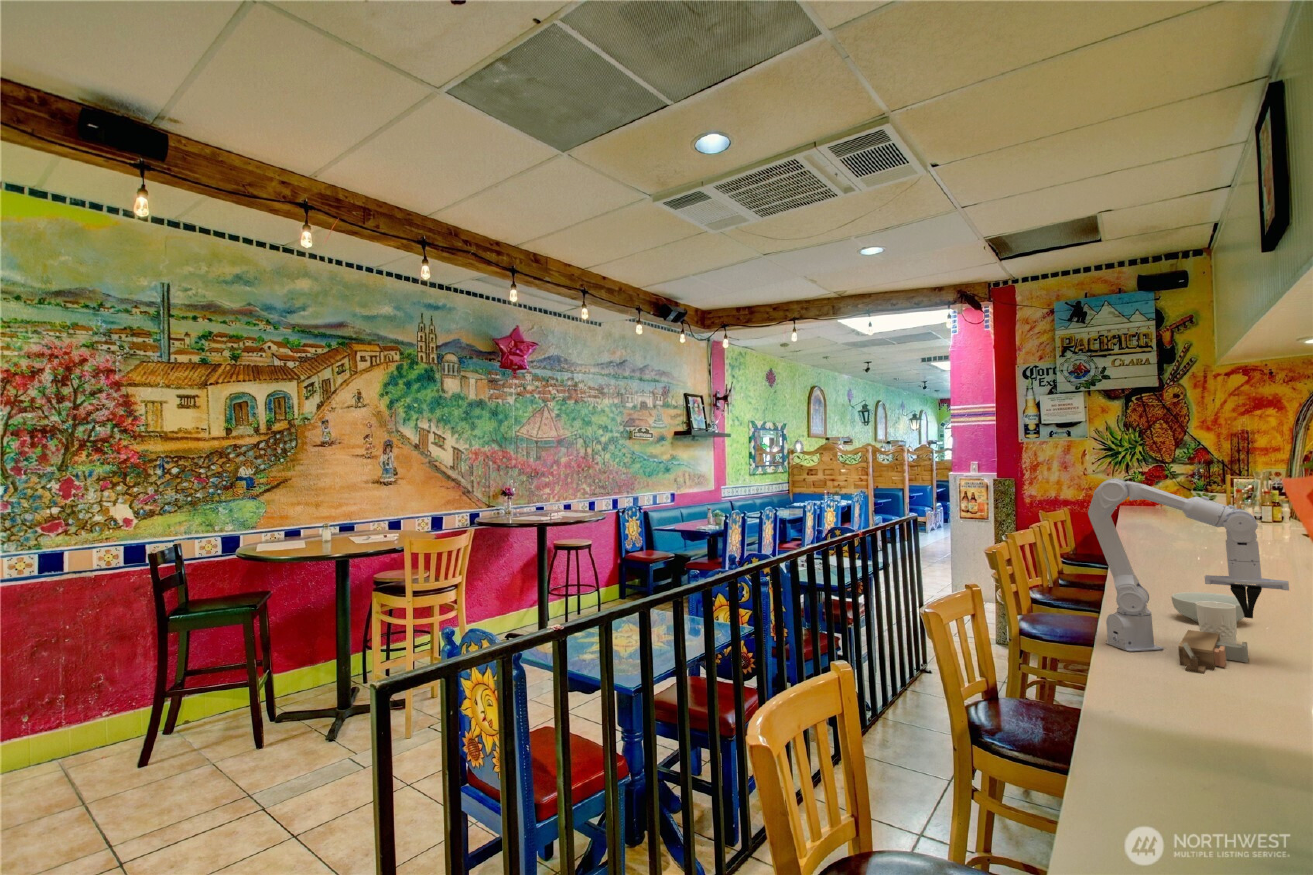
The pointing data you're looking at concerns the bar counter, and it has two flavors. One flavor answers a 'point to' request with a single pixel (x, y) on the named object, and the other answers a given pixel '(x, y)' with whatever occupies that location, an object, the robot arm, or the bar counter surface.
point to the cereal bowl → (1187, 601)
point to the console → (1199, 650)
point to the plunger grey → (1235, 651)
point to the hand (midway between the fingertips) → (1248, 617)
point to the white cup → (1218, 619)
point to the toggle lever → (1189, 651)
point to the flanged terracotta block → (1220, 656)
